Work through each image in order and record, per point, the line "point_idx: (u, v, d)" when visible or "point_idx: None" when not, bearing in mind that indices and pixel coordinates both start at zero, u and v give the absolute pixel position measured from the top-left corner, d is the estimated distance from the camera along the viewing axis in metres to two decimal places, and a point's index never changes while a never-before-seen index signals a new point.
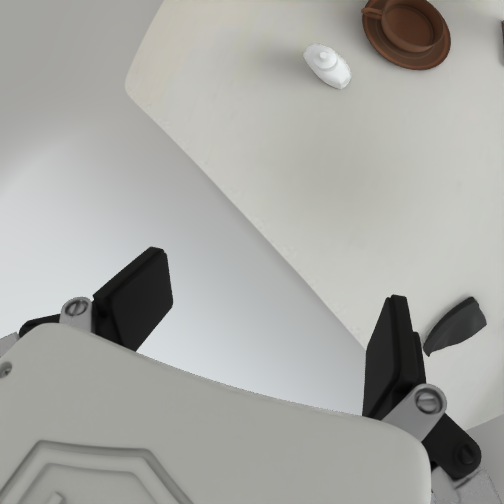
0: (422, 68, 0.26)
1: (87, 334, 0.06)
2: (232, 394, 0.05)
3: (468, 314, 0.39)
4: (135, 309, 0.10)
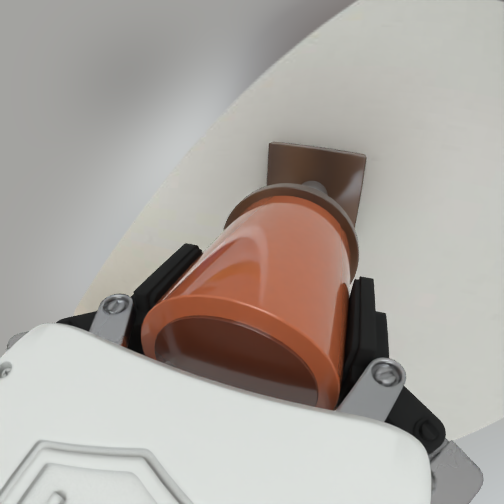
0: None
1: (87, 334, 0.06)
2: (232, 394, 0.05)
3: None
4: None
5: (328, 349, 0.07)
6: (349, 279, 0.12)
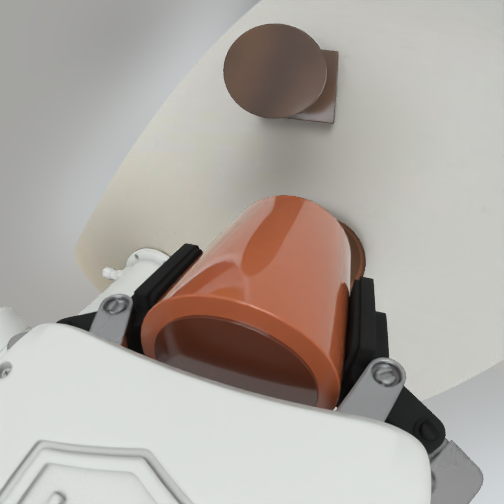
0: (363, 255, 0.32)
1: (87, 334, 0.06)
2: (232, 394, 0.05)
3: None
4: None
5: (328, 349, 0.07)
6: (349, 279, 0.11)
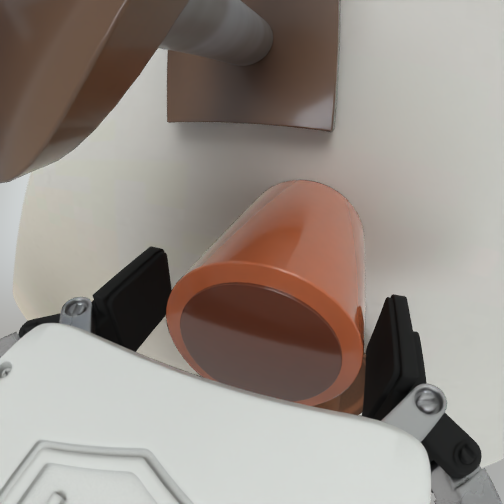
0: None
1: (87, 334, 0.06)
2: (232, 394, 0.05)
3: None
4: (135, 309, 0.10)
5: (353, 314, 0.07)
6: (364, 258, 0.12)
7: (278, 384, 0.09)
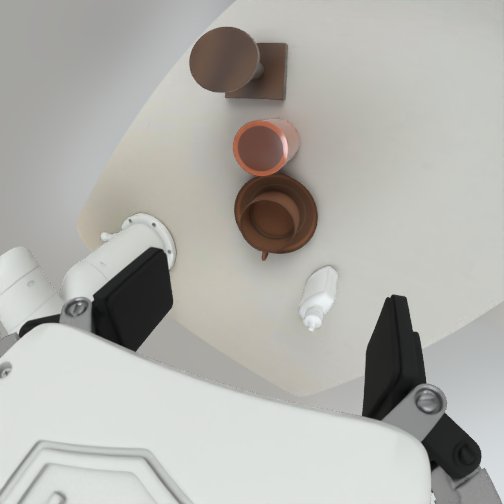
0: (314, 207, 0.39)
1: (87, 334, 0.06)
2: (232, 394, 0.05)
3: None
4: (135, 308, 0.10)
5: (283, 132, 0.30)
6: (296, 138, 0.34)
7: (266, 160, 0.31)
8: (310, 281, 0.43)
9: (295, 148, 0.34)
